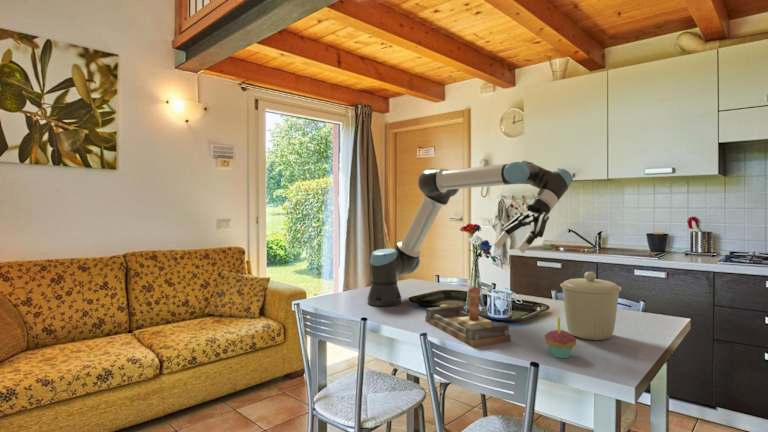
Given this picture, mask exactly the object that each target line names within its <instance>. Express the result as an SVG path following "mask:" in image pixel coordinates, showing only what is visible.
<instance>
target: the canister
mask: <svg viewBox="0 0 768 432" xmlns="http://www.w3.org/2000/svg"><path fill="white" fill-rule="evenodd" d="M583 277H584V278H580V277H579V278H570V279H567V280H564V281H563V282H561V283H560V284H559V286H560V287H561V288H562V289H561V290H562V297H563V305H564V306H563V307H564V313H565V322H566V327H567V330H568V333H570V334H572V335H573V336H574V337H575V338H580V339H583V340H589V341H603V340H607V339H609V338H611V336H612V335H613V334H614V331H615V327H616V326H615V325H616V318H617V311H618V305H619V304H618V302H619V293H620V292H621V290H622V287H621V286H619V285H618V284H616V283H615V282H614V281H613V282H612V281H609V280H606V279H605V280H604V279H601V278H600V279H598V278H597V275H596V273H595V272H593V271H586V272H584V274H583Z"/></svg>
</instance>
